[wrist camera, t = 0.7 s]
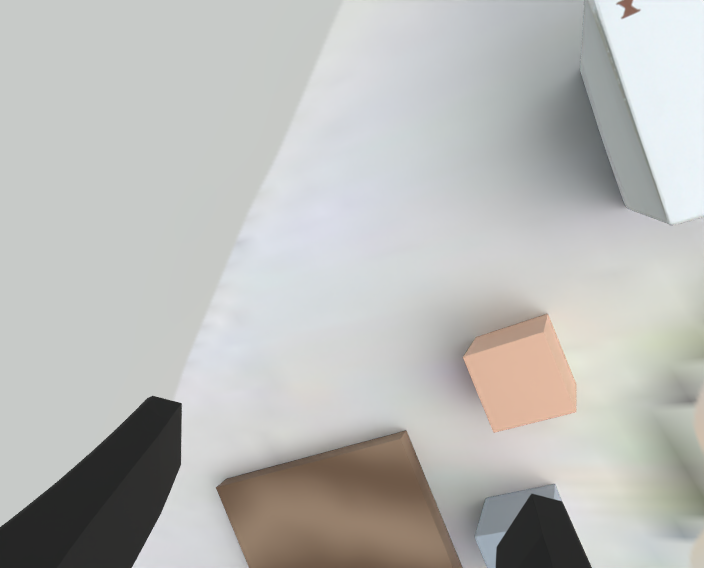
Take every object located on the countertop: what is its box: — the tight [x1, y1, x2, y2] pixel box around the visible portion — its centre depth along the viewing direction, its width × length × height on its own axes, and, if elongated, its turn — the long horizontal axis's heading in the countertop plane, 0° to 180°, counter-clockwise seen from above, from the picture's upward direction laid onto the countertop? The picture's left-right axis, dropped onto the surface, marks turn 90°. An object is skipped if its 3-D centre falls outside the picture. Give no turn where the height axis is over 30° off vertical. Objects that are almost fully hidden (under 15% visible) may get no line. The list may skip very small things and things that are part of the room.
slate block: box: [475, 484, 563, 568], centre depth 30 cm, size 4×4×4 cm
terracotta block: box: [463, 314, 576, 433], centre depth 29 cm, size 4×4×4 cm
